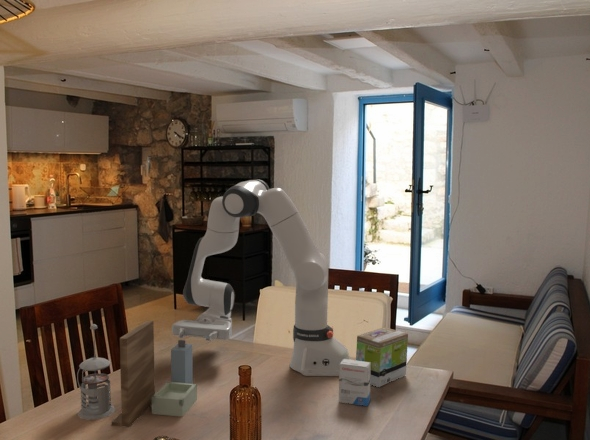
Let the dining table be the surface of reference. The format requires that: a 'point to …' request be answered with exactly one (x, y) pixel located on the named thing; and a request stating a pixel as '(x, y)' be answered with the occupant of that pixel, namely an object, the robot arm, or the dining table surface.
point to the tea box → (383, 354)
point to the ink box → (354, 382)
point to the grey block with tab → (182, 363)
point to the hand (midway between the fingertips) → (194, 336)
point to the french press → (95, 389)
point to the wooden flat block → (136, 373)
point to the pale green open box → (174, 399)
